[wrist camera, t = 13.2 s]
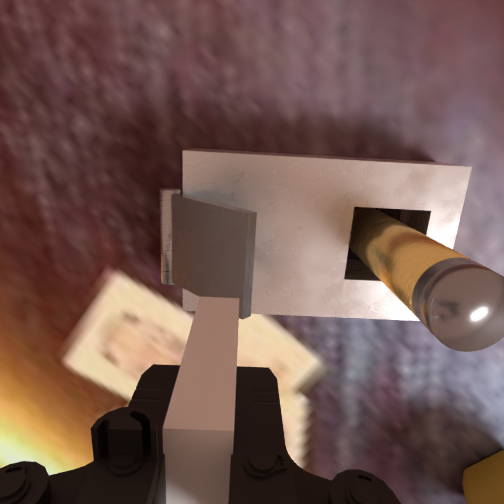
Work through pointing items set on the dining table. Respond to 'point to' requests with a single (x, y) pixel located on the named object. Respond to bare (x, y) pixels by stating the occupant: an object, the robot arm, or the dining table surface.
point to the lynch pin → (432, 280)
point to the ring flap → (207, 247)
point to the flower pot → (485, 481)
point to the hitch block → (323, 222)
